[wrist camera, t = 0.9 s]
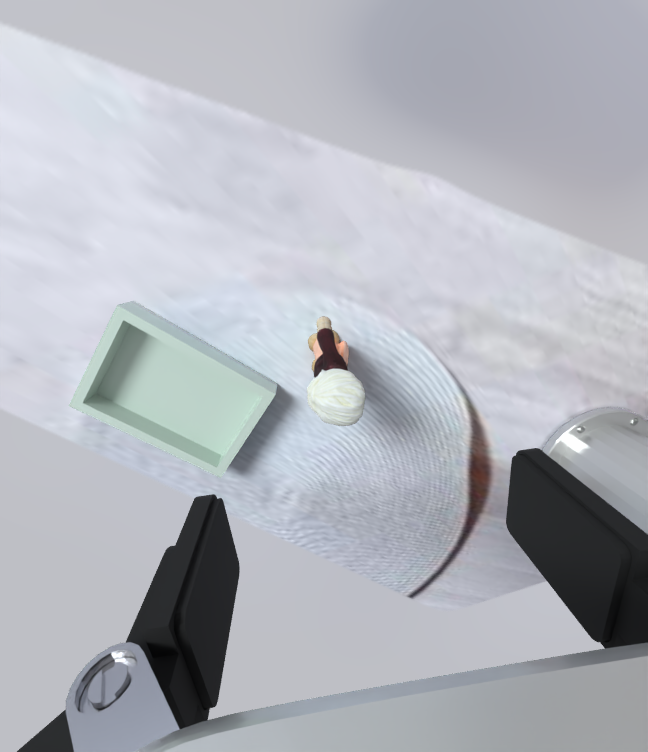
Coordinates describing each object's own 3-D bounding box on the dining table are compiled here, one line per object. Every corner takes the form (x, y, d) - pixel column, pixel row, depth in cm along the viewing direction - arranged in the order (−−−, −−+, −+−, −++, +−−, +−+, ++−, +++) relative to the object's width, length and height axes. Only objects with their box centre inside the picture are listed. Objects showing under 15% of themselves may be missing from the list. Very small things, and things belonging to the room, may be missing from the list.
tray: (277, 383, 31) (275, 394, 29) (226, 461, 33) (220, 478, 31) (133, 300, 28) (117, 305, 25) (87, 393, 30) (68, 406, 28)
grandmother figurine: (356, 381, 32) (393, 456, 20) (316, 392, 32) (329, 475, 20) (334, 299, 29) (360, 330, 17) (291, 313, 29) (287, 352, 17)
